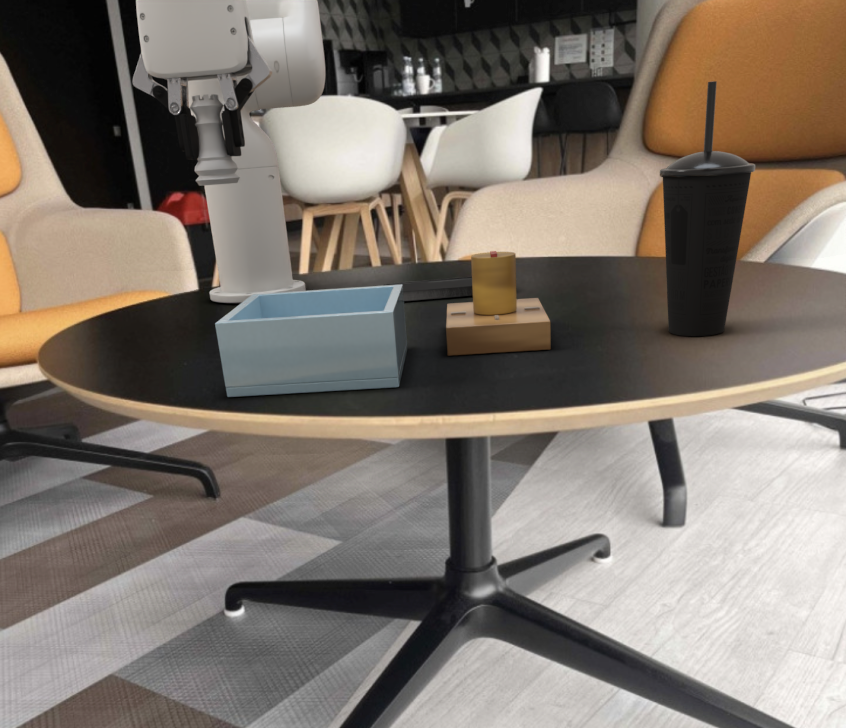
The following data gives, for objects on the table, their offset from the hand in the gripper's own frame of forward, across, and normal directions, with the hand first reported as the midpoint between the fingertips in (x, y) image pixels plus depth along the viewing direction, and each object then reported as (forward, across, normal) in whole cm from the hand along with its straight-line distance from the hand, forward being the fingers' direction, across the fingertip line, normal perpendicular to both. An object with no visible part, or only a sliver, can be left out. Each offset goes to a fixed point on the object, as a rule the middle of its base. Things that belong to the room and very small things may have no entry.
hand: (214, 155), depth 87 cm
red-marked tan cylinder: (+15, -27, +12) cm, 33 cm away
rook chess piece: (+3, 0, 0) cm, 3 cm away
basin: (+18, -12, +21) cm, 30 cm away
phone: (+17, -22, -16) cm, 32 cm away
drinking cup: (+18, -45, +13) cm, 50 cm away
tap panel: (+18, -27, +12) cm, 34 cm away
